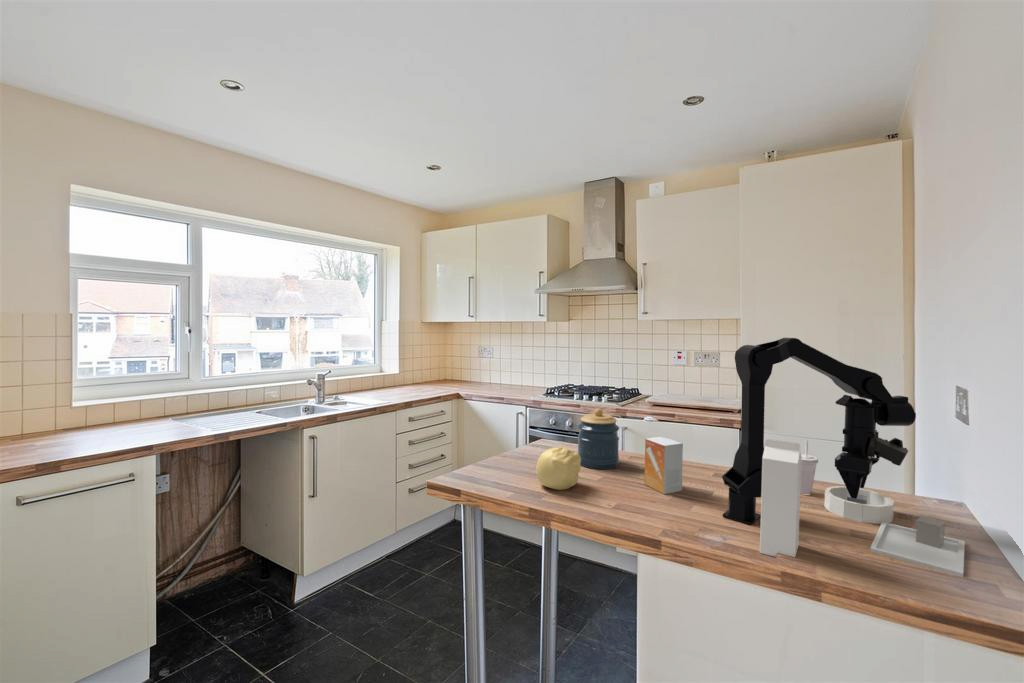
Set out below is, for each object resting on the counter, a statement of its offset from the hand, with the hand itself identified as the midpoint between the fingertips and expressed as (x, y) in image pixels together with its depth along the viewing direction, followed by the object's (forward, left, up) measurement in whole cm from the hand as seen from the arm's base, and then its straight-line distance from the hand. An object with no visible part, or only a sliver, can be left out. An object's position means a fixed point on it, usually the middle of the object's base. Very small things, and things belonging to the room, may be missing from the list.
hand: (857, 492), depth 108 cm
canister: (-7, +66, -6) cm, 67 cm away
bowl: (+2, 0, -6) cm, 6 cm away
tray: (-11, -12, -6) cm, 17 cm away
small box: (-13, +41, -6) cm, 44 cm away
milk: (-30, +8, -6) cm, 32 cm away
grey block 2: (-7, -13, -5) cm, 15 cm away
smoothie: (+10, +13, -6) cm, 17 cm away
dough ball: (-32, +62, -6) cm, 70 cm away
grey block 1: (0, 0, -5) cm, 5 cm away
